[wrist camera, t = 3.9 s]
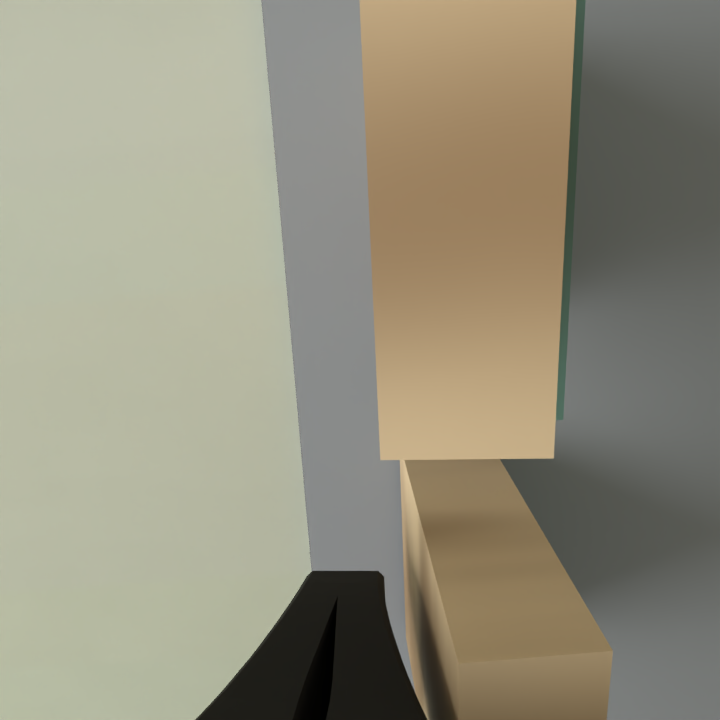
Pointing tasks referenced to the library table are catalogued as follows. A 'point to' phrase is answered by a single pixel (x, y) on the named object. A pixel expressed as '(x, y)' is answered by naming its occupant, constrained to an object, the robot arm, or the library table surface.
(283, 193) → the felt mat
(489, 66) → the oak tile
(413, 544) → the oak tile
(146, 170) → the library table surface
